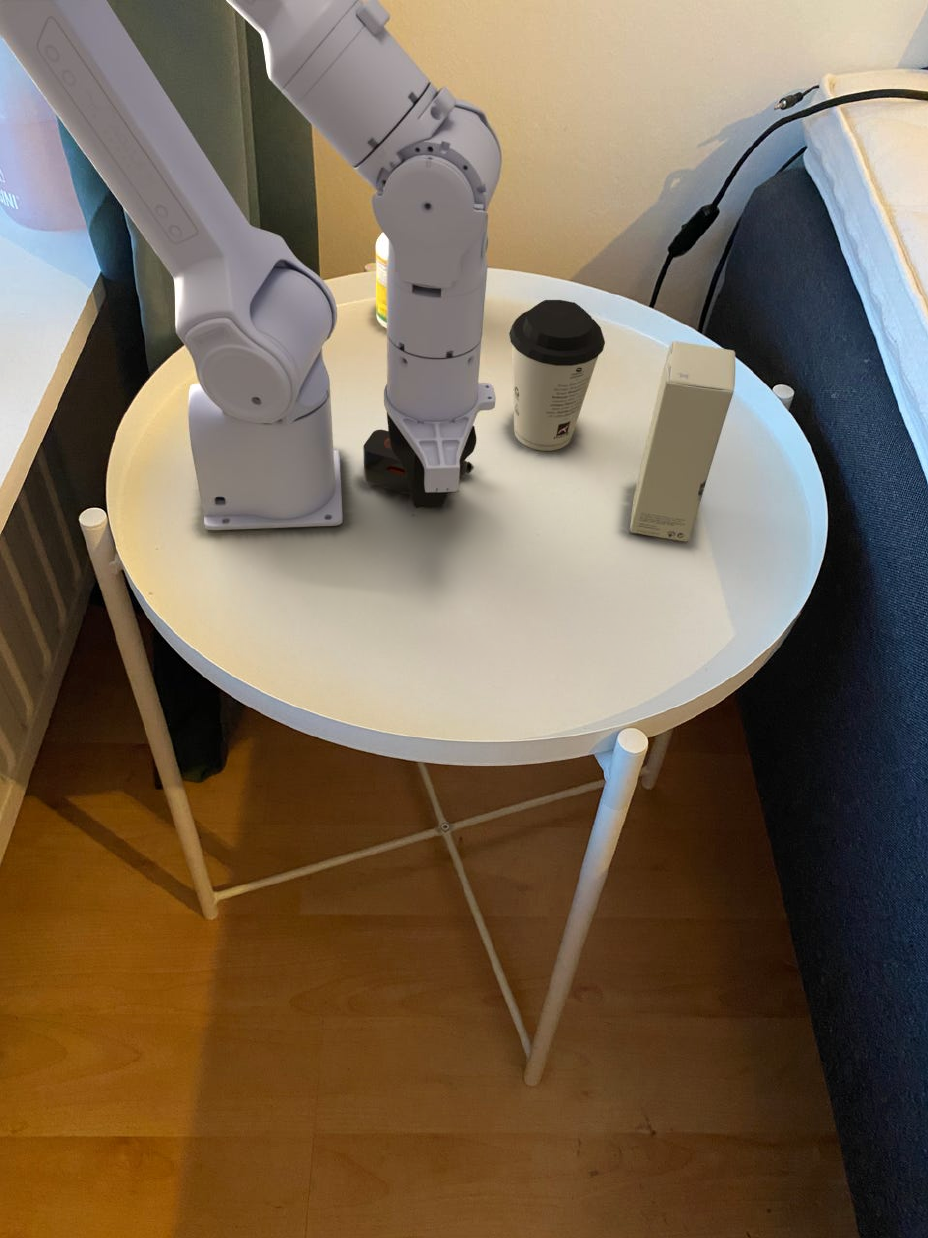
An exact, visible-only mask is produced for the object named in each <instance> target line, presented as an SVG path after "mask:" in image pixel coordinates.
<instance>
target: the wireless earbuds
mask: <svg viewBox="0 0 928 1238" xmlns="http://www.w3.org/2000/svg"><path fill="white" fill-rule="evenodd" d="M362 450H363V452H362V453H363V478H364V480H365V482H367V483H368V484H371V485H375V486H377V487H380V488H383V489H387V490H391V491H395V492H397V493H402V494H405V495H408V496H410V492H409V486H408V481H407V476H406V473H405V470H404V468H403V466H402V464H401V462H400V460H399V459H398V458H397V457H396V455H395V454H394V453H393V450H392V448H391V446H390V442H389V432H388V430H387V429H386V430H385V429H376V430H374V431H373V432H372V433H371V434H370V436H369V437H368V439H367V440H366V441H365V442H364V444H363V447H362ZM473 470H475V466H474V464H472V462H470V461H467V460H466V459H465V460H464V462H463V463H462V464H461V466H460V474H459V479H463V477H464V476H465V475H466V474H470V473H472V472H473Z"/></svg>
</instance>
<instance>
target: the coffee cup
mask: <svg viewBox="0 0 928 1238" xmlns="http://www.w3.org/2000/svg"><path fill="white" fill-rule="evenodd" d="M508 335H509V336H508V337H509V341H510V343H511V353H512V355H511V356H512V357H511V358H512V394H513V395H512V396H513V399H512V401H513V431H514V436H515V438H516V439H517V440H518V442H520V443H521V444H522V445H524V446H526V447H527V448H530V449H532V450H537V451H541V452H543V451H545V452H548V451H550V452H552V451H557V450H561V449H562V448H565V446H567V445H568V444H570V442H571V441H572V437H573V434H574V432H575V429H576V425H577V421H578V420H579V416H580V413H581V410H582V407H583V405H584V400H585V397H586V395H587V392H588V389H589V386H590V382H591V380H592V377H593V373H594V370H595V367H596V364H597V361H598V358H599V355H601V353H603V351H604V348H605V345H606V341H605V337H604V334H603V331H602V327H601V326H600V324H598V323H597V321H596V320H595V319H594V318H593V317H592V315H590V314H589V313H588V312H587V311H586V310H585V309H584V308H583V307H581V305H579V304H578V303H576V302H574V301H569V300H563V299H543V300H542V301H540V302H539V303H537V304H535V305H534V306H533V307H531V308H530V309H529V310H527V311H525V312H522V313H521V314H520V315H518V317H517V318H515V320H514V322H513V323H512V325H511V327H510V329H509V332H508Z"/></svg>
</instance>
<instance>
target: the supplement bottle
mask: <svg viewBox="0 0 928 1238" xmlns="http://www.w3.org/2000/svg"><path fill="white" fill-rule="evenodd" d="M387 257H388V238H387V237H386V236H385V234H384V233H383V232H381V234H380V235H379V236H378V238H377V239H376V243H375V303H376V305H375V311H376V313H375V314H376V319H377V322H378V323H379V324H380V325H381V326H382V327H383V328H384V329H386V330H387Z"/></svg>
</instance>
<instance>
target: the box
mask: <svg viewBox="0 0 928 1238" xmlns="http://www.w3.org/2000/svg"><path fill="white" fill-rule="evenodd" d="M735 386H736V352H735V351H734V349H733V350H732V349H728V348H727V349H726V348H721V347H715V346H708V345H703V344H702V345H701V344H695V343H689V342H683V341H677V340H671V342H670V343H669V346H668V350H667V353H666V358H665V362H664V366H663V370H662V374H661V378H660V382H659V387H658V392H657V395H656V399H655V404H654V409H653V413H652V416H651V421H650V426H649V428H648V429H649V430H648V433H647V438H646V442H645V446H644V451H643V457H642V461H641V465H640V469H639V473H638V477H637V482H636V485H635V491H634V495H633V500H632V509H631V515H630V524H629V525H630V526H629V531H630V533H633V534H639V535H644V536H649V537H655V538H661V539H669V540H675V541H680V542H689V540H690V537H691V535H692V532H693V529H694V525H695V522H696V518H697V515H698V511H699V508H700V506H701V505H700V503H701V502H702V499H703V494H704V491H705V487H706V485H707V481H708V477H709V473H710V472H711V471H710V470H711V468H712V464H713V461H714V457H715V454H716V452H717V448H718V444H719V441H720V437H721V434H722V431H723V428H724V424H725V421H726V418H727V414H728V411H729V408H730V404H731V402H732V399H733V396H734V392H735Z"/></svg>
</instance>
